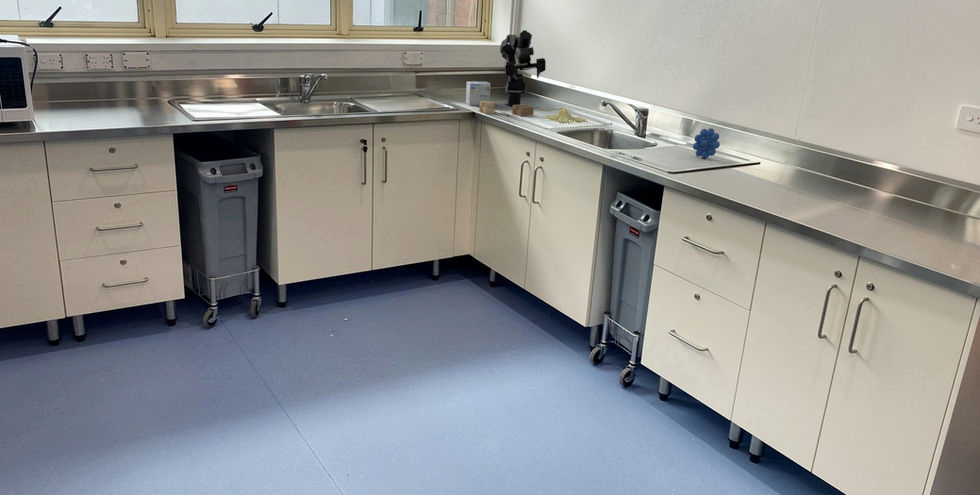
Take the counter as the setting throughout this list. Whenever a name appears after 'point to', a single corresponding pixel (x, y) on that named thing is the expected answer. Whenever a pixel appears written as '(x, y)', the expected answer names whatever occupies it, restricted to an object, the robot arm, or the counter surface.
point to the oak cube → (487, 107)
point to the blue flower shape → (706, 143)
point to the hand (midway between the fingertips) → (527, 78)
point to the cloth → (564, 117)
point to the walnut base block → (522, 110)
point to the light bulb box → (477, 92)
